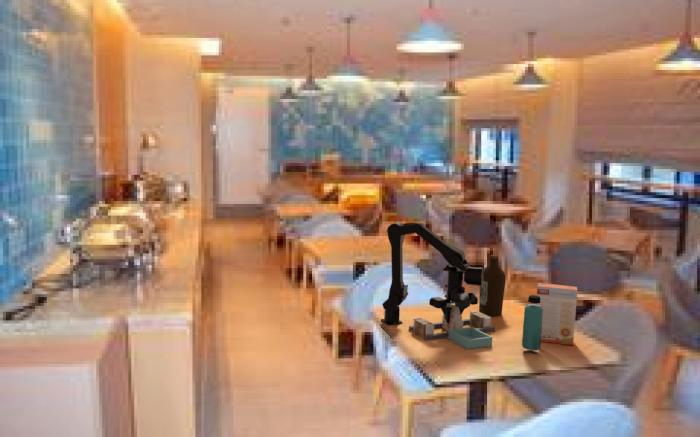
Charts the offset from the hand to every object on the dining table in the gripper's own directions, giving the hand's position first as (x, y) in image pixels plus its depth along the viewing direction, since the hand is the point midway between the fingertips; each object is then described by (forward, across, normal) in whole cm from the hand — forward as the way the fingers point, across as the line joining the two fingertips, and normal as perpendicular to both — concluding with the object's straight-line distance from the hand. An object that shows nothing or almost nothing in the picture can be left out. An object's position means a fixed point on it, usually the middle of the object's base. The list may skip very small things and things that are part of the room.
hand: (452, 322), depth 242 cm
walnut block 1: (+3, -13, 0) cm, 13 cm away
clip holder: (+3, 0, 0) cm, 3 cm away
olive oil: (+3, +29, +14) cm, 32 cm away
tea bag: (+3, 0, 0) cm, 3 cm away
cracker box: (+3, +29, -23) cm, 37 cm away
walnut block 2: (+3, +13, 0) cm, 13 cm away
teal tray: (+3, -2, -14) cm, 14 cm away
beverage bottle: (+3, +13, -29) cm, 32 cm away
